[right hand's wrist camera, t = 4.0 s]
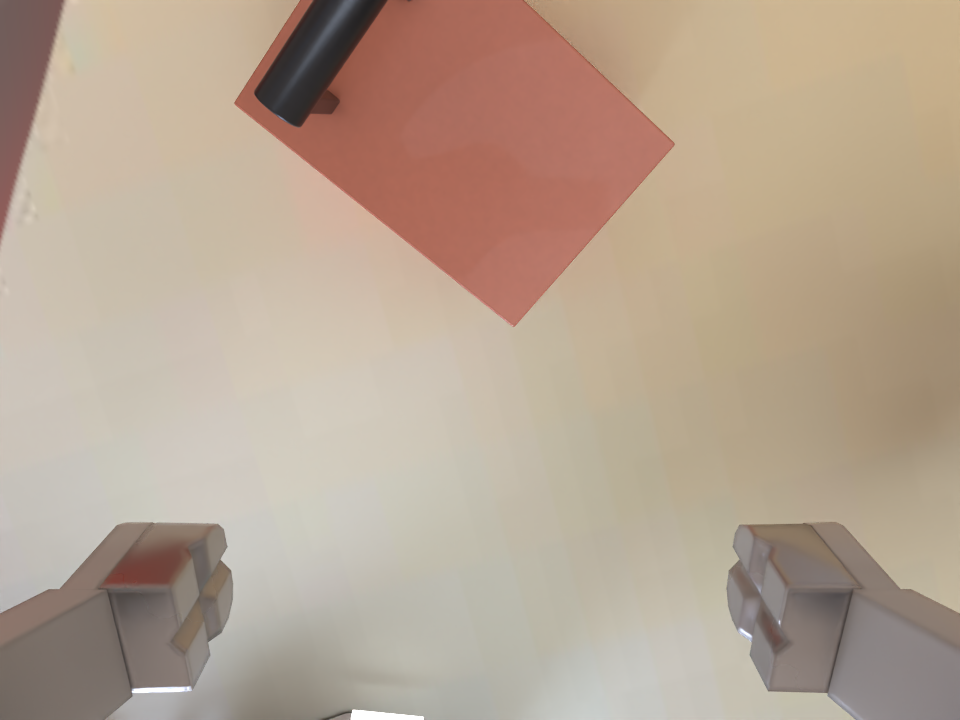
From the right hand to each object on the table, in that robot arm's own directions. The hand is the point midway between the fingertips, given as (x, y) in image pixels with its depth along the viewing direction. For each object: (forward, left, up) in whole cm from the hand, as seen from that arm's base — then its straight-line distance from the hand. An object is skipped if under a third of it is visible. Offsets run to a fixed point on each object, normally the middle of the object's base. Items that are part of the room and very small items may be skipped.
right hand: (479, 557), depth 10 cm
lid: (+1, +6, -21) cm, 22 cm away
